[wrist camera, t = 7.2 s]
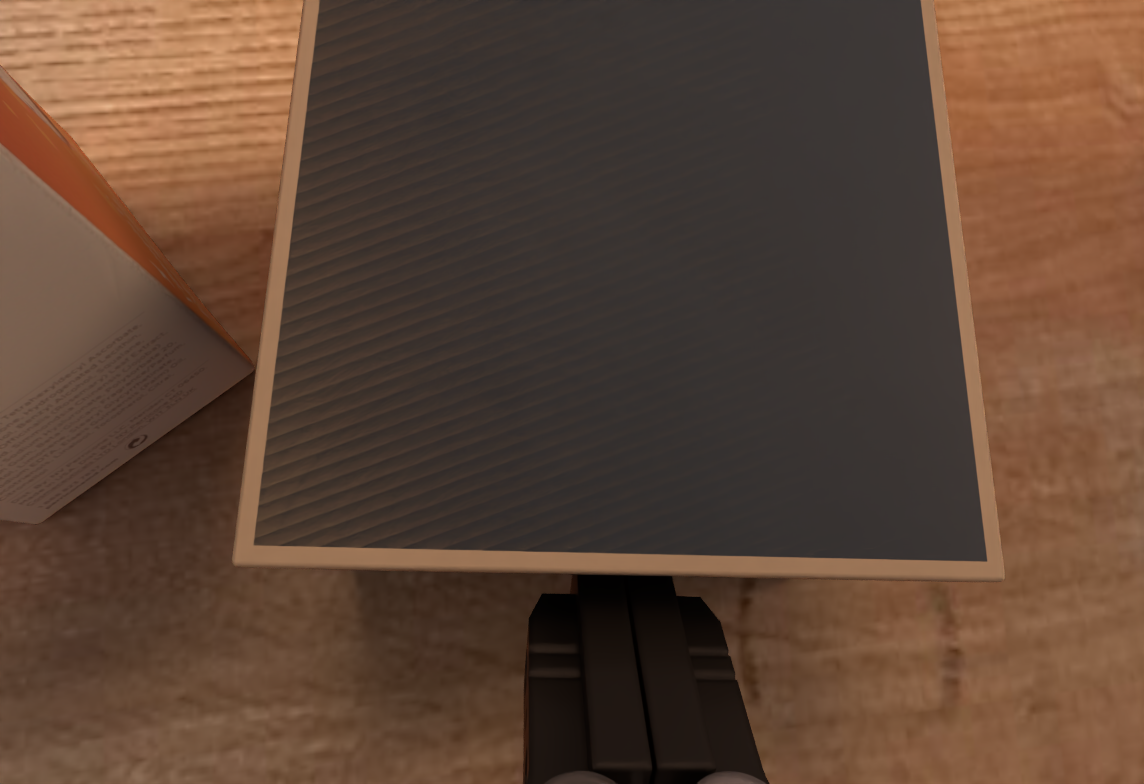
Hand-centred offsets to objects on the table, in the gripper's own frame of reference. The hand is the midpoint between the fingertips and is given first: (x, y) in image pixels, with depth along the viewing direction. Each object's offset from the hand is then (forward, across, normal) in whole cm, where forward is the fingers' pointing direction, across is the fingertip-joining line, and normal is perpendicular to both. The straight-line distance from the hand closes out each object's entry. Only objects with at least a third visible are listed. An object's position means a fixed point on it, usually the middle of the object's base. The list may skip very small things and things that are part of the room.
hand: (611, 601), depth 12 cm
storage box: (+7, 0, -1) cm, 7 cm away
